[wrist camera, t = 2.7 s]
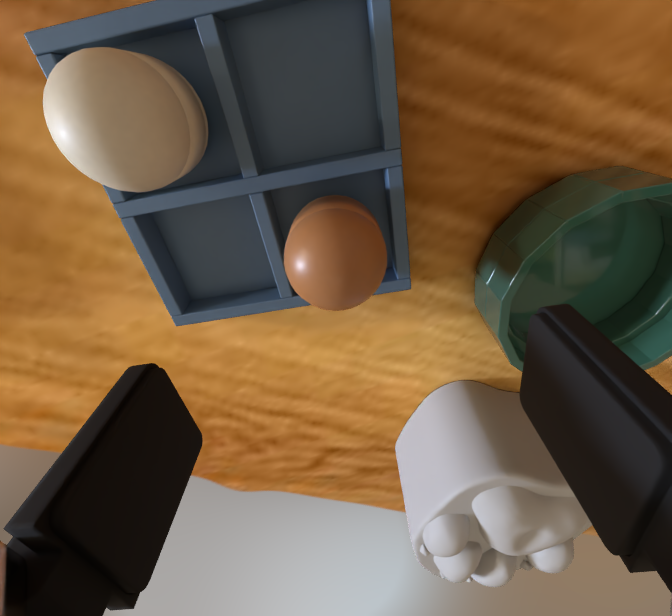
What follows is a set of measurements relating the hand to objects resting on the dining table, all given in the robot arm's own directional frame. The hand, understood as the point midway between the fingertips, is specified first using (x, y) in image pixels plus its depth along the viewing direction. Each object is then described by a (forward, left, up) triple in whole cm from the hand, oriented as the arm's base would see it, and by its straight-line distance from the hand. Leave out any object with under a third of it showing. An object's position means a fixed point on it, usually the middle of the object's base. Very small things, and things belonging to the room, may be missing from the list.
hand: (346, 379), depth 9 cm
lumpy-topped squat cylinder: (+20, +7, -12) cm, 24 cm away
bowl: (+4, +13, -11) cm, 18 cm away
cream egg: (-7, -7, -11) cm, 14 cm away
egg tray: (-3, -3, -11) cm, 12 cm away
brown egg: (0, 0, -11) cm, 11 cm away
